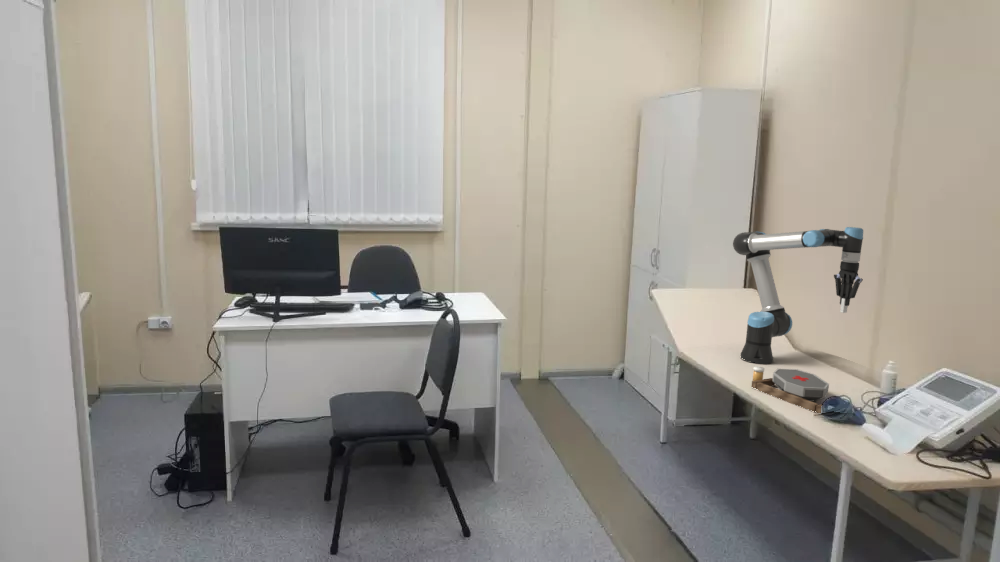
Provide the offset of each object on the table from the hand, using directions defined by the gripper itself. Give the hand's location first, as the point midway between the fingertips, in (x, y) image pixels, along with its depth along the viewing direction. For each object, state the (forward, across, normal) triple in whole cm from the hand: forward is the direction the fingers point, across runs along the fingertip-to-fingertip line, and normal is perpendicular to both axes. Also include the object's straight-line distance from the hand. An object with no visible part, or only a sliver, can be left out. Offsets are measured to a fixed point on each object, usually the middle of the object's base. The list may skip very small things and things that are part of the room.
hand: (843, 312), depth 300 cm
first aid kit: (+30, +15, -44) cm, 55 cm away
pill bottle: (+29, -2, -49) cm, 57 cm away
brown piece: (+29, +17, -49) cm, 60 cm away
